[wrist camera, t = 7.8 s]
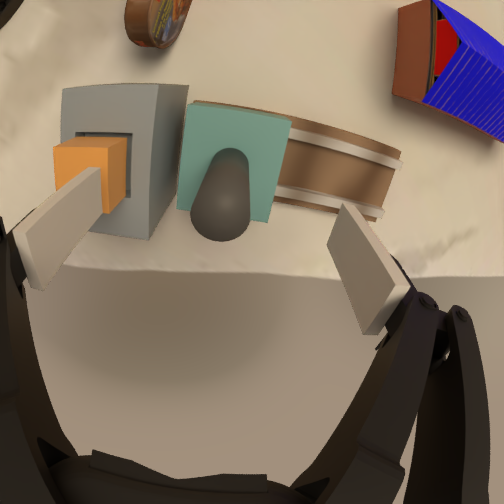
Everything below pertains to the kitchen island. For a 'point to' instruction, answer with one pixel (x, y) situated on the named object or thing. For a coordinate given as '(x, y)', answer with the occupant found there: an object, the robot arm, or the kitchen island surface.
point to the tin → (155, 21)
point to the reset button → (94, 165)
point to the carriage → (229, 167)
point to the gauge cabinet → (132, 145)
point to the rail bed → (333, 168)
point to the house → (450, 66)
